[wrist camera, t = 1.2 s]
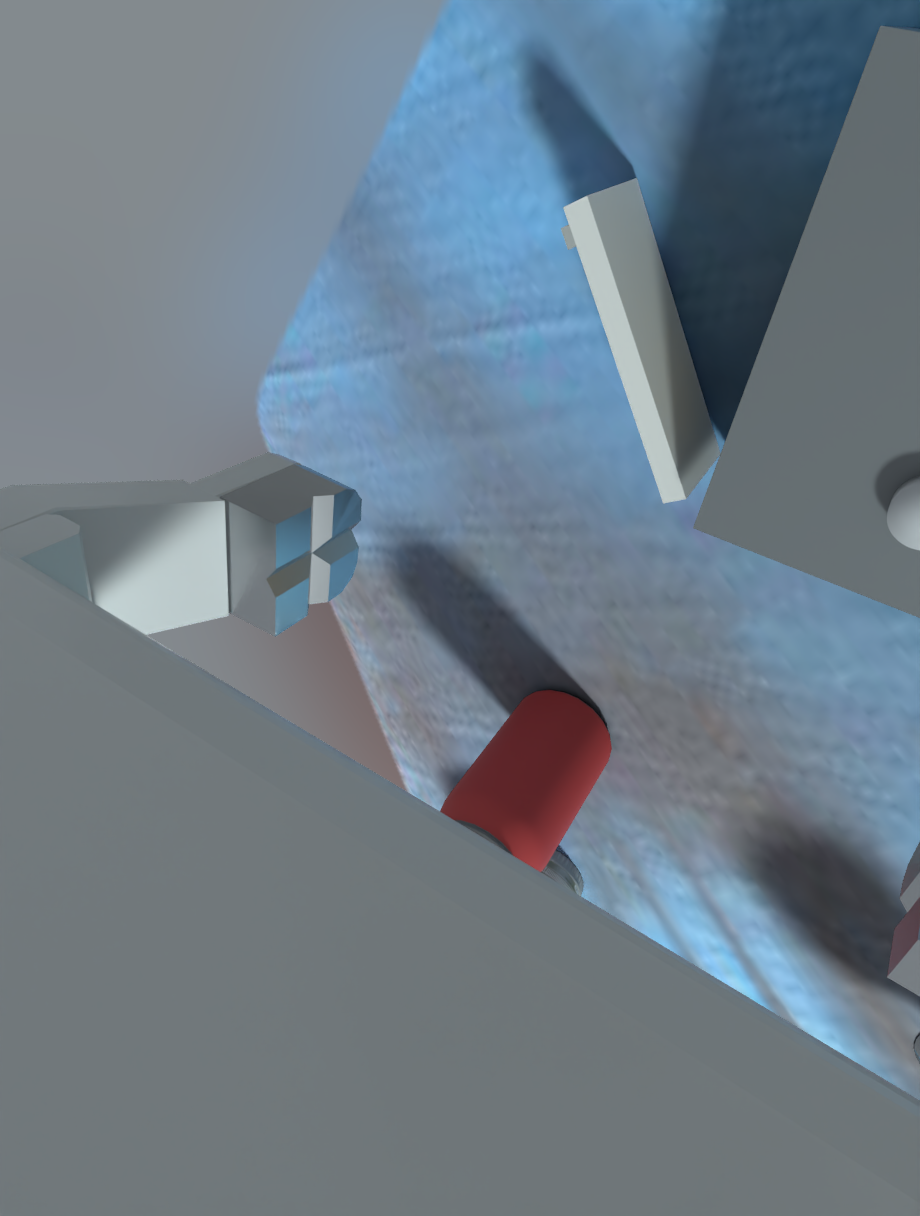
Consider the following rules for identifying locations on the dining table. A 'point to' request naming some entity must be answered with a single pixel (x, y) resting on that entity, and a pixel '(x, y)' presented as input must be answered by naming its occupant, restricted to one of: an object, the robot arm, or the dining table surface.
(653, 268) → the side door
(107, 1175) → the robot arm
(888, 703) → the dining table surface
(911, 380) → the block
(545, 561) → the dining table surface
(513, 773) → the beer can
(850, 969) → the dining table surface
